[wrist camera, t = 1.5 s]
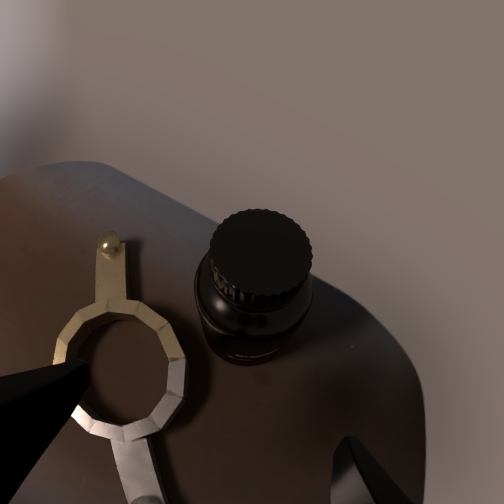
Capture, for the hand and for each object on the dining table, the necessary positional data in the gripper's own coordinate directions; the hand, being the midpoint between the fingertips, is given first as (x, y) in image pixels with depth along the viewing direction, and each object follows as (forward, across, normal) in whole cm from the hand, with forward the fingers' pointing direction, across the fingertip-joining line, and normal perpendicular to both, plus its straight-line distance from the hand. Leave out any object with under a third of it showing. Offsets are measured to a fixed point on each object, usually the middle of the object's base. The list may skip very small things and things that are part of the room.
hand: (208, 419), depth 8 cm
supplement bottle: (+15, 0, +4) cm, 15 cm away
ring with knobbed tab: (+14, +12, +5) cm, 19 cm away
